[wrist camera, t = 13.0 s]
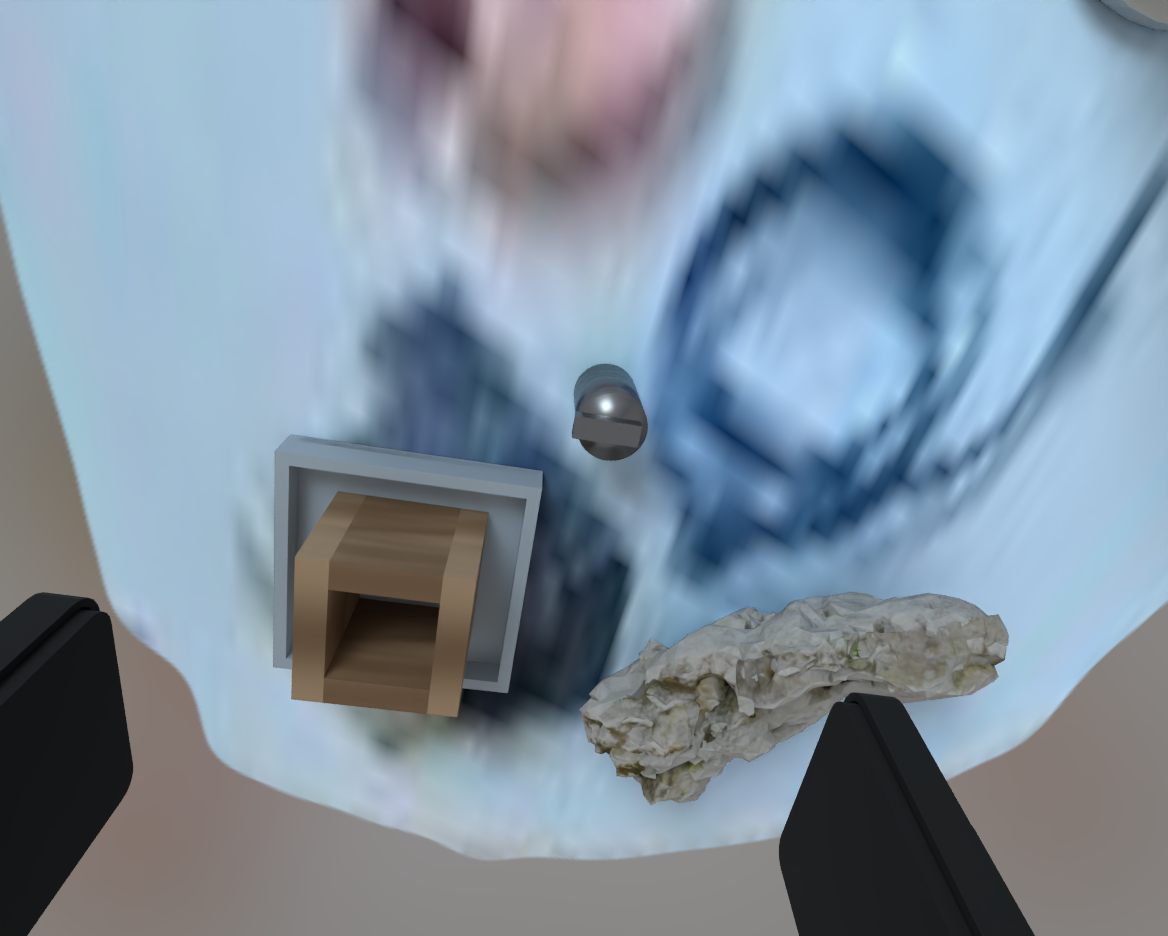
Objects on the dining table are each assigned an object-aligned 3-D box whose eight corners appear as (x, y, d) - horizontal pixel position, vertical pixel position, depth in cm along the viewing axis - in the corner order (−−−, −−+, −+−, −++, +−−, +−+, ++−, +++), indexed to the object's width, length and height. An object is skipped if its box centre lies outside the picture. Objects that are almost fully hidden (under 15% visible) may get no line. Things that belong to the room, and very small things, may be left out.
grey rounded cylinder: (640, 369, 32) (656, 404, 27) (628, 427, 33) (641, 471, 28) (576, 358, 32) (580, 392, 27) (565, 417, 33) (568, 460, 28)
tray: (542, 470, 34) (542, 488, 32) (510, 667, 38) (507, 693, 36) (290, 434, 32) (275, 451, 31) (287, 641, 37) (273, 667, 35)
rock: (653, 661, 44) (635, 831, 38) (584, 559, 38) (547, 741, 31) (997, 637, 37) (1052, 843, 30) (984, 503, 30) (1051, 728, 24)
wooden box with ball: (337, 491, 33) (294, 556, 27) (488, 512, 34) (476, 580, 28) (330, 639, 36) (290, 724, 31) (468, 655, 37) (453, 741, 31)
